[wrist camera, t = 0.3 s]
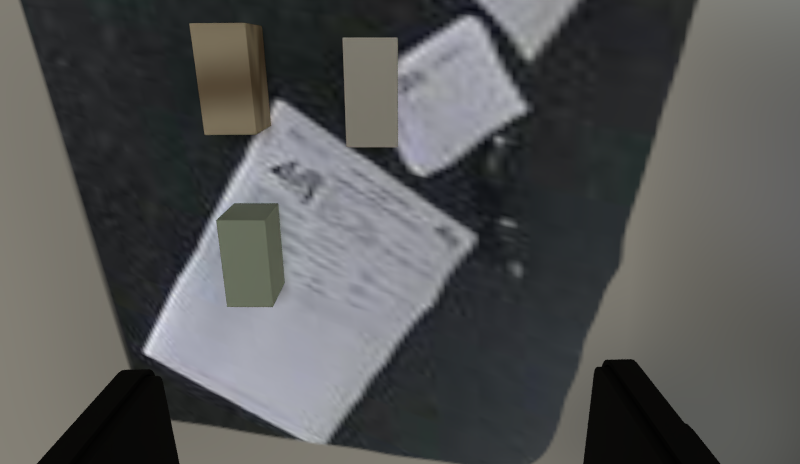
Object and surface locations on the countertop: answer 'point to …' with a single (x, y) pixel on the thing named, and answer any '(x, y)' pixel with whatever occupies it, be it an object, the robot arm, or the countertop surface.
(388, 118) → the offwhite brick
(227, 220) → the sage brick
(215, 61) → the beech brick
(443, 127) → the countertop surface
